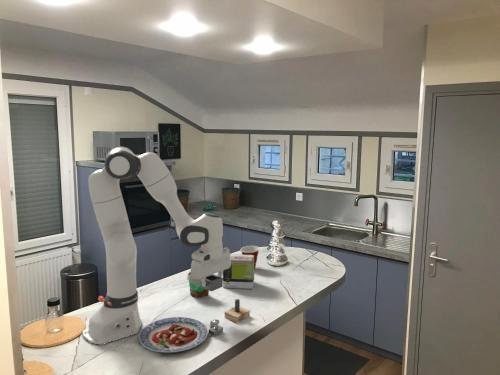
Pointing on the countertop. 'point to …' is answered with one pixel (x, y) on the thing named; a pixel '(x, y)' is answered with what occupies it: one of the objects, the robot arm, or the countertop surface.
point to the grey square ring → (213, 282)
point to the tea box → (239, 272)
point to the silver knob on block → (215, 329)
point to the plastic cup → (251, 252)
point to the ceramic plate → (173, 334)
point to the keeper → (237, 312)
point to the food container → (196, 287)
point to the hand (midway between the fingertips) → (211, 283)
